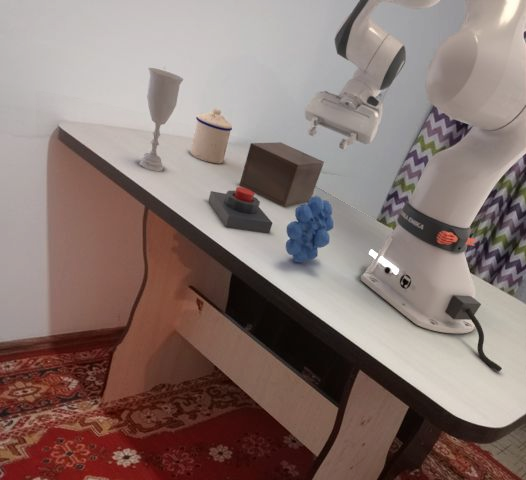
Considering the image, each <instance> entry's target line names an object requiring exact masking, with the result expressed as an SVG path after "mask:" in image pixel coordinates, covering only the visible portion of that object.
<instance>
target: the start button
mask: <svg viewBox="0 0 526 480" xmlns="http://www.w3.org/2000/svg"><path fill="white" fill-rule="evenodd" d="M234 191H235V194H234V197H236V198H237V199H239V200H242V201H246V202H252V200H253V197H255V193H254V192H253V191H251V190H249V189H247V188H244V187H242V186H237V187H236V188H235V190H234Z"/></svg>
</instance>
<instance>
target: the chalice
mask: <svg viewBox="0 0 526 480" xmlns="http://www.w3.org/2000/svg"><path fill="white" fill-rule="evenodd" d="M148 73H149V79H148V88H147V94H146V99H147V105H148V110H149V115H150V118H151V121H152V122H153V123H155V125H154V126H155V128H154V130H153V132H152V135H153V139H152V140H151V141H150V143H151V150H150V151H149V152H147V153H145V154H144V155H143V157H142V158H141V160H140V162H139V166H141V167H143V168H145V169H147V170H151V171H155V172H156V171H157V172H161V171H164V167H163V162H162V158H161V157H160V156H159V155H158V153H157V148H158V146H159V145H160V143H159V138H160V136H161V133H160V132H161V131H160V128H161V126H162V125H165V124H166V123H167V122H168V121H169V119H170V118H171V116H172V114H173V112H174V110H175V108H176V107H177V103H178V97H179V91H180V85H181V84H182V82H183V81H184V78H183V77H181V76H180V75H177V74H175V73H172V72H169V71H166V70H162V69H160V68H156V67H148Z"/></svg>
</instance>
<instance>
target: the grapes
mask: <svg viewBox="0 0 526 480" xmlns="http://www.w3.org/2000/svg"><path fill="white" fill-rule="evenodd" d="M294 215H295V219H296V220H293V221H291V222H289V223H288V224H287V225H286V234H287V237H288V238H289V239H287V240H286V242H285V251H286V252H287V254H288V255H290V256H292V259H293V261H294V262H295V263H297V264H301V263H304V262H306V261H307V260H309V261H311V260H314V259H316V258H317V257H318V255H319V251H318V250H319V249H321V248H324V247H326V246H328V245H329V244H330V234H329V232H330V231H331V230H333V229H334V226H335V225H334V219H333V217H332V215H333V206H332V203H330V201H328V200H327V199H326V200H323V199H322V198H321V196H319V195H315V196H312V197H311V198H310V199H309V200H308V201H307V203H306V204H305V203H303V204H300V205H298V206H297V207H296V208H295V211H294Z"/></svg>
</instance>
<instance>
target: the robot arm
mask: <svg viewBox="0 0 526 480" xmlns="http://www.w3.org/2000/svg"><path fill="white" fill-rule="evenodd" d="M441 1H442V0H359V1H358V2H357V4H356V5H355V7H354V8H353V9H352V11H351V12H350V13H349V14H348V15H347V16H346V17H345V18H344V19H343V20H342V22H341V24H340V25H339V27H337V30H336V33H335V37H334V46H335V51H336V54H337V55H339V56H340V57H342V58H343V59H345V60H346V61H349V62H350V63H352V64H353V65H354V66H355V67H357V68H356V69H355V71H354V73H353V74H352V77H351V78H350V79H349V80H347V81H346V83H345V84H344V86H343V88H342V89H341V90H340V91H339V93H338V94H335V93H331V92H329V91H328V90H324V91H318V92H316V93H315V95H314V96H313V97H312V98H311V99H310V100H309V101H308V103H307V104H306V105H305V107H304V117H305V120H307V121H309V122H311V126H310V127H309V129H308V131H307V132H308V136H311V137H315V135H316V134H317V132H318V130H317V129H318V128H317V127H318V125H319V126H321V127H323V128H325V129H328V130H331V131H333V132H336V133H337V134H340V135H341V136H344V137H347V138H342V139H341V141H340V142H339V145H338V148H340V149H342V150H346V148H347V147H348V146H350V145H353V144H355V143H356V142H359V143H362V144H363V145H368V144H372V142H373V140H374V138H375V136H376V135H377V132H378V129H379V125H380V124H381V122H382V117H383V106H384V105H383V102H382V101H380V100H379V99H378V98H377V97H378V96H379V95H380V94H381V93H382V91H384V90H386V89H388V88H390V86H391V85H392V84H393V82H394V80H395V79H396V77H397V76H398V75H399V74H400V72H401V71H402V69H403V68H404V66H405V64H406V61H407V60H406V58H407V53H406V51H407V50H406V47H405V45H404V44H403V43H402V42H401V41H400V40H399V39H397V38H396V37H394V35H392V34H391V33H389V32H388V31H386V30H385V29H384V28H382V27H381V26H380V25H378V24H377V23H376V22H375V21H374V20H373V19H372V17H371V15H372V14H373V12H374V11H375V9H376V8H377V6H378V5H379V4H380V3H392V4H396V5H399V6H402V7H405V8H407V9H410V10H411V9H412V10H424V9H428V8H432V7H434V6H435V5H437V4H439V3H440V2H441ZM525 33H526V0H464V16H463V21H462V25H461V26H460V29H459V30H458V31H455V32H454V33H453V34H451V35H450V36H449V37H447V39H445V40H444V41H443V42H442V43H441V44H440V46H438V48H437V49H436V51H435V52H434V53H433V55H432V57H431V59H430V61H429V63H428V66H427V68H426V72H425V78H424V90H425V91H424V92H425V96H426V98H427V100H428V102H429V103H430V104H431V105H432V106H434V107H435V108H436V109H438V110H439V112H441V113H443V114H444V115H446V116H448V117H449V118H451V119H452V120H455V121H458V122H461V123H463V124H467V125H469V126H472V127H471V128H470V130H469V131H468V132H467V133H466V135H465V136H464V137H463V138H461V140H460V141H458V142H457V143H456V144H454V145H452V146H450V147H449V148H446V149H443V150H440V151H438V152H436V153H435V154H434V155H433V156H431V157H430V159H429V160H428V161H427V162H426V165H425V167H424V169H423V170H422V173H421V175H420V177H419V180H418V181H417V184H416V185H415V188H414V190H413V192H412V194H411V196H410V198H409V199H408V200H407V201H405V203H404V205H403V206H402V208H401V209H400V211H399V215H398V217H397V219H396V220H397V223H396V225H395V227H394V229H393V231H392V232H391V233H390V234H389V236H388V237H387V238H386V239H385V241H384V243H383V244H382V246H381V248H380V250H378V252H376V251H374V250H373V249H370V250H369V252H368V255H370V256H371V257H373V260H372V262H370V263H369V265H368V267H366V269H365V271H364V273H362V275H361V277H360V281H361V282H362V283H364V284H365V285H366V286H367V287H369V288H370V289H371V290H372V291H373V292H374V293H376V294H377V295H378V296H379V297H381V298H382V299H384V300H385V301H386V302H387V303H389V304H390V305H391V306H392V307H393V308H395V309H396V310H397V311H398V312H400V313H401V314H402V315H403V316H405V317H406V318H407V319H408V320H410V321H411V322H412V323H414V324H415V325H416V326H418V327H420V328H424V329H425V330H429V331H434V332H439V333H446V334H467V333H471V332H473V331H474V330H475V329H476V331H477V335H478V342H477V347H476V348H477V349H476V350H477V353H478V356H479V358H480V359H481V360H482V361H483V362H484V363H485V364H486V365H488V366H489V367H490V368H492V369H494V370H495V371H496V372H499V373H500V372H501V370H502V369H503V368H502V367H501V366H500V365H499V364H497V363H496V362H495V361H493V360H491V359H490V358H489V357H488V356H487V355H486V354H485V352H484V343H485V342H484V341H485V334H484V330H483V327H482V325H481V323H480V321H479V319H478V318H477V317H476V316H475V315H476V313H477V311H478V310H479V308H480V307H481V305H482V303H481V302H479V301H478V300H477V299H475V297H476V293H477V292H476V287H475V283H474V282H473V277H472V275H471V272H470V269H469V265H468V261H467V258H466V255H465V252H466V251H467V249H468V246H472V247H473V246H476V245H475V244H474V243H475V242H478V239H477V238H471V237H470V235H471V230H472V229H471V226H472V224H473V222H474V220H475V218H476V217H477V215H478V213H479V212H480V210H481V208H482V207H483V205H484V204H485V202H486V200H487V199H488V197H489V195H490V194H491V192H492V190H493V189H494V188H495V186H496V185H497V184H498V182H499V181H500V179H502V177H503V176H504V175H505V174H506V173H507V172H508V171H509V170H510V169H511V168H512V167H513V166H514V164H516V163H517V162H518V161H519V160H520V159H521V158H522V157H523V156H524V155H526V40H525Z"/></svg>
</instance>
